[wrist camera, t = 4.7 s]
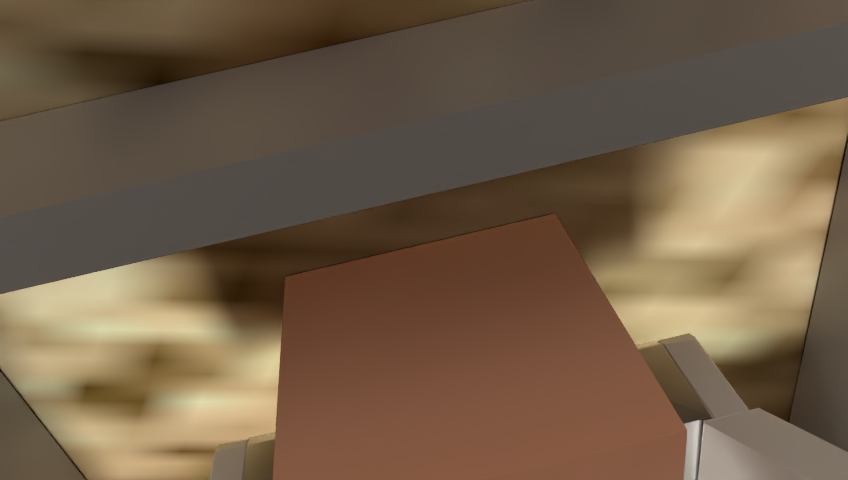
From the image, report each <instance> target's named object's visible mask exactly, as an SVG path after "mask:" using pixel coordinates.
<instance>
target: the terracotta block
mask: <svg viewBox="0 0 848 480" xmlns="http://www.w3.org/2000/svg"><path fill="white" fill-rule="evenodd" d="M686 443H687V429H686V427H685V425H684V424H683V422H682V421H681V419H680V417H679V416H678V414H677V412H676V411H675V409H674V407H673V406H672V404H671V403H670V401H669V399H668V398H667V396H666V394H665V393H664V391H663V389H662V388H661V386H660V384H659V383H658V381H657V380H656V378H655V376H654V375H653V373H652V371H651V370H650V368H649V366H648V365H647V363H646V362H645V360H644V358H643V357H642V355H641V353H640V352H639V350H638V348H637V347H636V345H635V344H634V342H633V340H632V339H631V337H630V335H629V334H628V332H627V330H626V329H625V327H624V326H623V324H622V322H621V321H620V319H619V317H618V316H617V314H616V312H615V311H614V309H613V308H612V306H611V304H610V303H609V301H608V299H607V298H606V296H605V294H604V293H603V291H602V290H601V288H600V286H599V285H598V283H597V281H596V280H595V278H594V276H593V275H592V273H591V271H590V270H589V268H588V267H587V265H586V263H585V262H584V260H583V258H582V257H581V255H580V253H579V252H578V250H577V249H576V247H575V245H574V244H573V242H572V240H571V239H570V237H569V235H568V234H567V232H566V231H565V229H564V227H563V226H562V224H561V222H560V221H559V219H558V217H557V216H556V214H555V213H554V214H550V215H546V216H542V217H537V218H533V219H529V220H525V221H520V222H516V223H512V224H508V225H503V226H499V227H495V228H491V229H486V230H482V231H478V232H474V233H469V234H465V235H461V236H456V237H452V238H448V239H444V240H439V241H435V242H431V243H427V244H422V245H418V246H414V247H410V248H405V249H401V250H397V251H393V252H388V253H384V254H380V255H376V256H371V257H367V258H363V259H358V260H354V261H350V262H346V263H341V264H337V265H333V266H329V267H324V268H320V269H316V270H312V271H307V272H303V273H299V274H295V275H290V276H286V277H285V289H284V305H283V321H282V337H281V353H280V369H279V385H278V401H277V417H276V433H275V449H274V465H273V480H684V470H685V456H686Z"/></svg>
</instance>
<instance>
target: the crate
mask: <svg viewBox="0 0 848 480" xmlns="http://www.w3.org/2000/svg"><path fill="white" fill-rule="evenodd" d="M846 97H848V0H531V1H526V2H522V3H517V4H513V5H509V6H504V7H500V8H496V9H491V10H487V11H482V12H478V13H474V14H469V15H465V16H460V17H456V18H452V19H447V20H443V21H438V22H434V23H430V24H425V25H421V26H416V27H412V28H408V29H403V30H399V31H394V32H390V33H386V34H381V35H377V36H373V37H368V38H364V39H359V40H355V41H351V42H346V43H342V44H337V45H333V46H329V47H324V48H320V49H315V50H311V51H307V52H302V53H298V54H293V55H289V56H285V57H280V58H276V59H271V60H267V61H263V62H258V63H254V64H250V65H245V66H241V67H236V68H232V69H228V70H223V71H219V72H214V73H210V74H206V75H201V76H197V77H192V78H188V79H184V80H179V81H175V82H170V83H166V84H162V85H157V86H153V87H148V88H144V89H140V90H135V91H131V92H127V93H122V94H118V95H113V96H109V97H105V98H100V99H96V100H91V101H87V102H83V103H78V104H74V105H69V106H65V107H61V108H56V109H52V110H47V111H43V112H39V113H34V114H30V115H25V116H21V117H17V118H12V119H8V120H4V121H0V294H2V293H7V292H11V291H15V290H20V289H24V288H28V287H33V286H37V285H41V284H45V283H50V282H54V281H58V280H63V279H67V278H71V277H76V276H80V275H84V274H89V273H93V272H97V271H101V270H106V269H110V268H114V267H119V266H123V265H127V264H132V263H136V262H140V261H144V260H149V259H153V258H157V257H162V256H166V255H170V254H175V253H179V252H183V251H187V250H192V249H196V248H200V247H205V246H209V245H213V244H218V243H222V242H226V241H231V240H235V239H239V238H243V237H248V236H252V235H256V234H261V233H265V232H269V231H274V230H278V229H282V228H286V227H291V226H295V225H299V224H304V223H308V222H312V221H317V220H321V219H325V218H329V217H334V216H338V215H342V214H347V213H351V212H355V211H360V210H364V209H368V208H373V207H377V206H381V205H385V204H390V203H394V202H398V201H403V200H407V199H411V198H416V197H420V196H424V195H428V194H433V193H437V192H441V191H446V190H450V189H454V188H459V187H463V186H467V185H471V184H476V183H480V182H484V181H489V180H493V179H497V178H502V177H506V176H510V175H515V174H519V173H523V172H527V171H532V170H536V169H540V168H545V167H549V166H553V165H558V164H562V163H566V162H570V161H575V160H579V159H583V158H588V157H592V156H596V155H601V154H605V153H609V152H613V151H618V150H622V149H626V148H631V147H635V146H639V145H644V144H648V143H652V142H657V141H661V140H665V139H669V138H674V137H678V136H682V135H687V134H691V133H695V132H700V131H704V130H708V129H712V128H717V127H721V126H725V125H730V124H734V123H738V122H743V121H747V120H751V119H755V118H760V117H764V116H768V115H773V114H777V113H781V112H786V111H790V110H794V109H799V108H803V107H807V106H811V105H816V104H820V103H824V102H829V101H833V100H837V99H842V98H846ZM789 423H790V424H792V425H794V426H796V427H798V428H800V429H802V430H804V431H806V432H809V433H811V434H813V435H815V436H817V437H819V438H821V439H823V440H825V441H827V442H829V443H831V444H833V445H835V446H837V447H839V448H841V449H843V450H845V451H847V452H848V144H847V148H846V153H845V158H844V163H843V167H842V172H841V177H840V182H839V186H838V191H837V196H836V201H835V205H834V210H833V215H832V220H831V224H830V229H829V234H828V239H827V243H826V248H825V253H824V258H823V262H822V267H821V272H820V277H819V281H818V286H817V291H816V296H815V300H814V305H813V310H812V315H811V319H810V324H809V329H808V334H807V338H806V343H805V348H804V353H803V357H802V362H801V367H800V372H799V376H798V381H797V386H796V391H795V395H794V400H793V405H792V410H791V414H790V419H789ZM0 480H85V479H84V477H83V476H82V475H81V473H80V472H79V471H78V470H77V468H76V467H75V466H74V465H73V463H72V462H71V461H70V459H69V458H68V457H67V456H66V454H65V453H64V452H63V450H62V449H61V448H60V447H59V445H58V444H57V443H56V442H55V440H54V439H53V438H52V436H51V435H50V434H49V433H48V431H47V430H46V429H45V428H44V426H43V425H42V424H41V422H40V421H39V420H38V419H37V417H36V416H35V415H34V414H33V412H32V411H31V410H30V408H29V407H28V406H27V405H26V403H25V402H24V401H23V400H22V398H21V397H20V396H19V394H18V393H17V392H16V391H15V389H14V388H13V387H12V386H11V384H10V383H9V382H8V380H7V379H6V378H5V377H4V375H3V374H2V373H1V372H0Z"/></svg>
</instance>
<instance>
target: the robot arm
mask: <svg viewBox="0 0 848 480" xmlns="http://www.w3.org/2000/svg"><path fill="white" fill-rule="evenodd" d="M636 347H637V348H638V350H639V352H640V353H641V355H642V357H643V358H644V360H645V362H646V363H647V365H648V366H649V368H650V370H651V371H652V373H653V375H654V376H655V378H656V380H657V381H658V383H659V384H660V386H661V388H662V389H663V391H664V393H665V394H666V396H667V398H668V399H669V401H670V403H671V404H672V406H673V407H674V409H675V411H676V412H677V414H678V416H679V417H680V419H681V421H682V422H683V424H684V425H685V427H686V429H687V443H686V456H685V470H684V480H848V452H847V451H845V450H843V449H841V448H839V447H837V446H835V445H833V444H831V443H829V442H827V441H825V440H823V439H821V438H819V437H817V436H815V435H813V434H811V433H809V432H806V431H804V430H802V429H800V428H798V427H796V426H794V425H792V424H790V423H788V422H786V421H784V420H782V419H780V418H778V417H776V416H774V415H772V414H770V413H768V412H766V411H764V410H762V409H760V408H755V409H751V410H749V409H748V407H747V406H746V405H745V403H744V402H743V401H742V399H741V398H740V397H739V395H738V394H737V393H736V391H735V390H734V389H733V387H732V386H731V385H730V383H729V382H728V381H727V379H726V378H725V377H724V375H723V374H722V373H721V371H720V370H719V369H718V367H717V366H716V365H715V363H714V362H713V361H712V359H711V358H710V357H709V355H708V354H707V353H706V351H705V350H704V349H703V347H702V346H701V345H700V343H699V342H698V340H697V339H696V338H695V337H694V336H692V335H691V334H684V335H680V336H676V337H672V338H668V339H664V340H660V341H658V342H655V341H654V342H650V343H646V344H642V345H638V346H636ZM275 433H276V432H274V433H269V434H265V435H260V436H255V437H250V438H248V439H243V440H239V441H234V442H229V443H225V444H220V445H218V447H217V449H216V451H215V453H214V455H213V460H212V466H211V472H210V479H209V480H273V465H274V449H275Z"/></svg>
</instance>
